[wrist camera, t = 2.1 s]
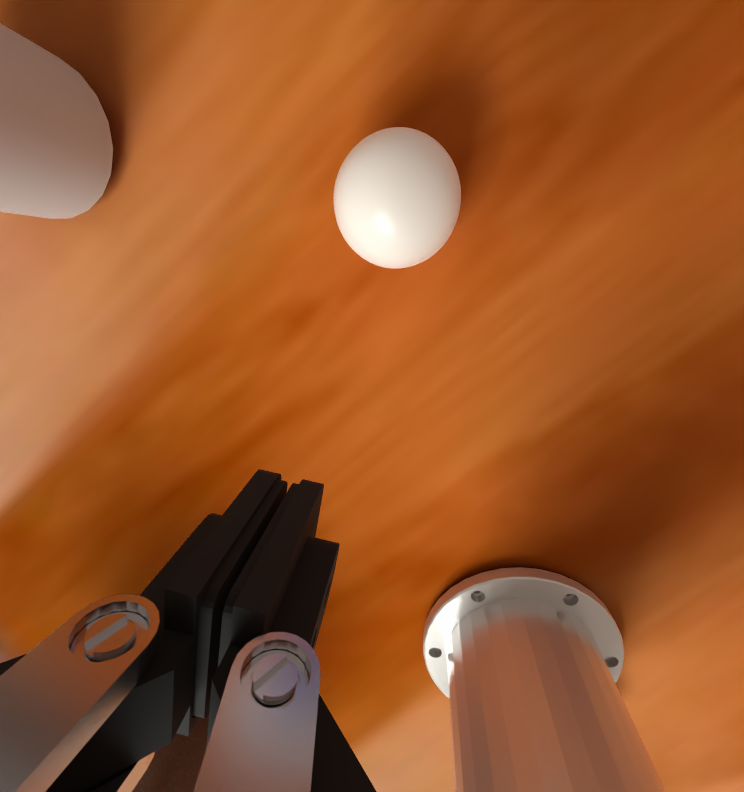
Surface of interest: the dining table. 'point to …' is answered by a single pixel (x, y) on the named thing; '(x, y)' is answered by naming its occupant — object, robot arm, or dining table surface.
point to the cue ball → (397, 197)
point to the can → (48, 134)
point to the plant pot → (177, 762)
